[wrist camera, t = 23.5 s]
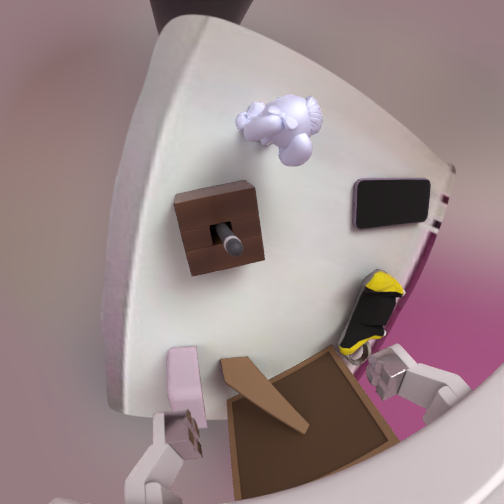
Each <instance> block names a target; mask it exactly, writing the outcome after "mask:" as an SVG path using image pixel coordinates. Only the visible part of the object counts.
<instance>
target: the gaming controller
mask: <svg viewBox="0 0 504 504" xmlns="http://www.w3.org/2000/svg"><path fill="white" fill-rule="evenodd" d="M404 295H405V290H403V288H402V287H401V285H400V284H399V283H398V282H397V281H396V280H395V279H394V278H393V277H391V276H390V275H389V274H387V273H386V272H384V271H382V270H379V269H376V270H375V271H373V272H372V273H371V274H369V275H368V276H367V277H366V278H365V279H364V280H363V284H362V288H361V291H360V293H359V296H358V298H357V301H356V303H355V306H354V308H353V310H352V313H351V315H350V318H349V320H348V322H347V324H346V327H345V329H344V331H343V332H342V334H341V336H340V338H339V341H338V344H337V347H338V350H339V352H341V353H342V354H343V355H349V354H352V353H354V352H355V351H356V350H357V349H358V348H359V347H361V346H362V345H363V344H364V343H365V342H367V341H368V340H369V339H380V338H382V337H383V336H385V335H386V331H385V330H384V328H383V326H386V324H387V322H388V320H389V318H390V315H391V313H392V311H393V309H394V307H395V305H396V297H402V296H404Z"/></svg>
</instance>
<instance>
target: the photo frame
mask: <svg viewBox="0 0 504 504" xmlns="http://www.w3.org/2000/svg"><path fill="white" fill-rule="evenodd" d="M220 361H221V366H222V371H223V375H224V380H225V383H226V384H227V385H229V386H230V387H231V388H233V389H234V390H235V391H237V392H238V393H240V394H239V395H237V396H235V397H232V398H230V399H228V400H227V412H228V426H229V441H230V454H231V465H232V477H233V488H234V498H235V501H239V500H245V499H250V498H255V497H259V496H264V495H268V494H272V493H276V492H280V491H283V490H287V489H290V488H294V487H297V486H300V485H304V484H307V483H310V482H313V481H315V480H318V479H321V478H324V477H327V476H329V475H332V474H334V473H337V472H339V471H342V470H344V469H347V468H349V467H351V466H353V465H356V464H358V463H360V462H362V461H364V460H367V459H369V458H371V457H373V456H375V455H377V454H379V453H381V452H383V451H384V450H386V449H388V448H390V447H392V446H394V445H396V444H397V443H399V442H400V441H399V439H398V438H397V436H396V435H395V434H394V432H393V431H392V429H391V428H390V426H389V425H388V424H387V422H386V421H385V419H384V418H383V416H382V415H381V414H380V412H379V411H378V409H377V408H376V407H375V405H374V404H373V403H372V401H371V400H370V398H369V397H368V395H367V394H366V393H365V391H364V390H363V388H362V387H361V386H360V384H359V383H358V381H357V380H356V379H355V377H354V376H353V374H352V373H351V372H350V370H349V369H348V367H347V366H346V365H345V363H344V362H343V360H342V359H341V358H340V356H339V355H338V353H337V352H336V351H335V349H334V348H333V346H332V345H330V346H329V347H327V348H325V349H324V350H322V351H320V352H319V353H317V354H315V355H314V356H312V357H310V358H308V359H307V360H305V361H303V362H301V363H300V364H298V365H296V366H294V367H292V368H291V369H289V370H287V371H285V372H283V373H281V374H279V375H277V376H276V377H274V378H272V379H270V380H267V378H266V377H265V376H264V375H263V374H262V373H261V372H260V370H259V369H258V368H257V367H256V366H255V365H254V364H253V362H252V361H251V360H250V359H249V358H248V357H238V358H226V359H221V360H220Z"/></svg>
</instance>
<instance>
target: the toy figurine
mask: <svg viewBox="0 0 504 504" xmlns="http://www.w3.org/2000/svg"><path fill="white" fill-rule="evenodd" d="M322 122H323V116H322V113H321V110H320V106H319V105H318V102H317V100H315V99H314V98H313V97H312V96H308V97H307V98H306V99H304V98H302V97H299V96H296V95H292V94H288V95H285V96H282V97H281V98H277V99H276V100H274V101H271V102H269V103H268V104H267V105H266V106H265V105H264V103H262V102H253V103H251V104H250V106H249V109H248V111H247V113H246V112H241V113H239V114H238V115H237V117H236V120H235V123H236V127H237V128H238V129H239V130H240V131H242V132H244V136H245V138H246V140H247V141H249V142H257V141H260V140H261V143H262V144H263V145H265V146H266V145H270V144H271V143H273V144H275V145H276V146H278V147H279V159H280V160H281V162H282V163H283V164H284V165H286V166H300V165H302V164H303V163H305V162H306V161H307V160H308V159H309V158H310V156H311V154H312V143H311V141H310V139H309V137H310V136H311V134H312V135H314V134H316V133H317V132H318V131H319V130H320V129H321V125H322Z"/></svg>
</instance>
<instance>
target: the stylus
mask: <svg viewBox="0 0 504 504" xmlns="http://www.w3.org/2000/svg"><path fill="white" fill-rule="evenodd" d="M214 227H215V229H216V231H217V233H218V235H219V237H220V239H221V240H222V242H223V244H224V247H225V249H226V251H227V252H228V253H229V254H230V255H231V256H233V257H237V256H239V255H241V254H242V252H243V245H242V243H241V241H240V240H239V239H238V238H237V237H236V236H235V235H234V234H233V232H232V231H231V230H230V229H229V227H228V226H227V225H226V224H225V223H219V224H214Z"/></svg>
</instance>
